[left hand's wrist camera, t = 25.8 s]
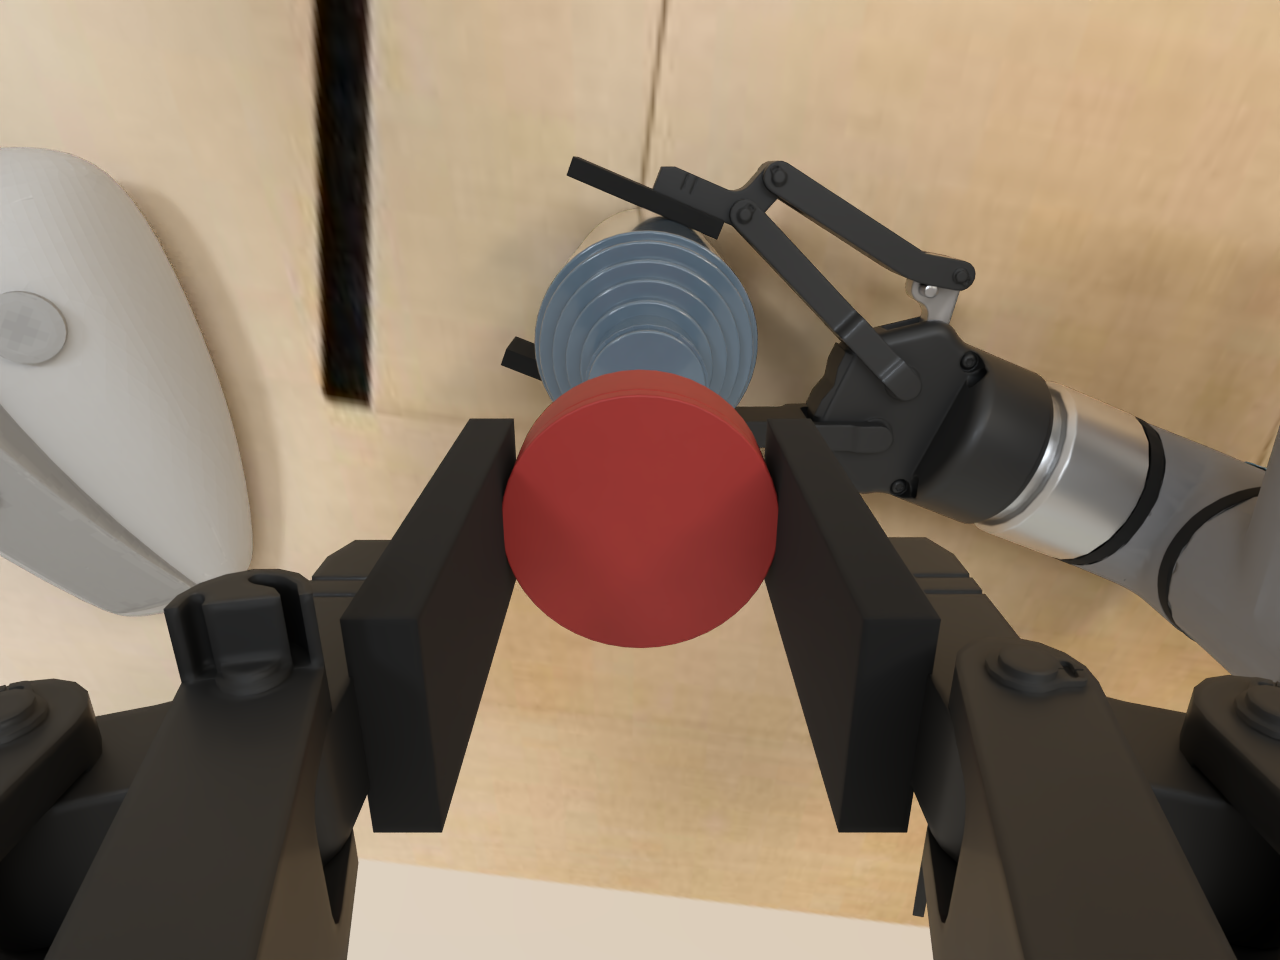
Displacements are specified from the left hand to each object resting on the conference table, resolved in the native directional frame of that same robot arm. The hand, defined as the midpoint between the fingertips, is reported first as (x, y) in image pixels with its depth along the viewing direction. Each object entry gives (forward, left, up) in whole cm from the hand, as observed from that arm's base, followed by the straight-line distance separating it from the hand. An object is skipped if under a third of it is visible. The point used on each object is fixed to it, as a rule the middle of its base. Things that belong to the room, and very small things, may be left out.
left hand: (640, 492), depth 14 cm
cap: (0, 0, +1) cm, 1 cm away
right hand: (-4, -2, -22) cm, 23 cm away
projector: (-16, -24, -28) cm, 40 cm away
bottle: (0, 0, -28) cm, 28 cm away
